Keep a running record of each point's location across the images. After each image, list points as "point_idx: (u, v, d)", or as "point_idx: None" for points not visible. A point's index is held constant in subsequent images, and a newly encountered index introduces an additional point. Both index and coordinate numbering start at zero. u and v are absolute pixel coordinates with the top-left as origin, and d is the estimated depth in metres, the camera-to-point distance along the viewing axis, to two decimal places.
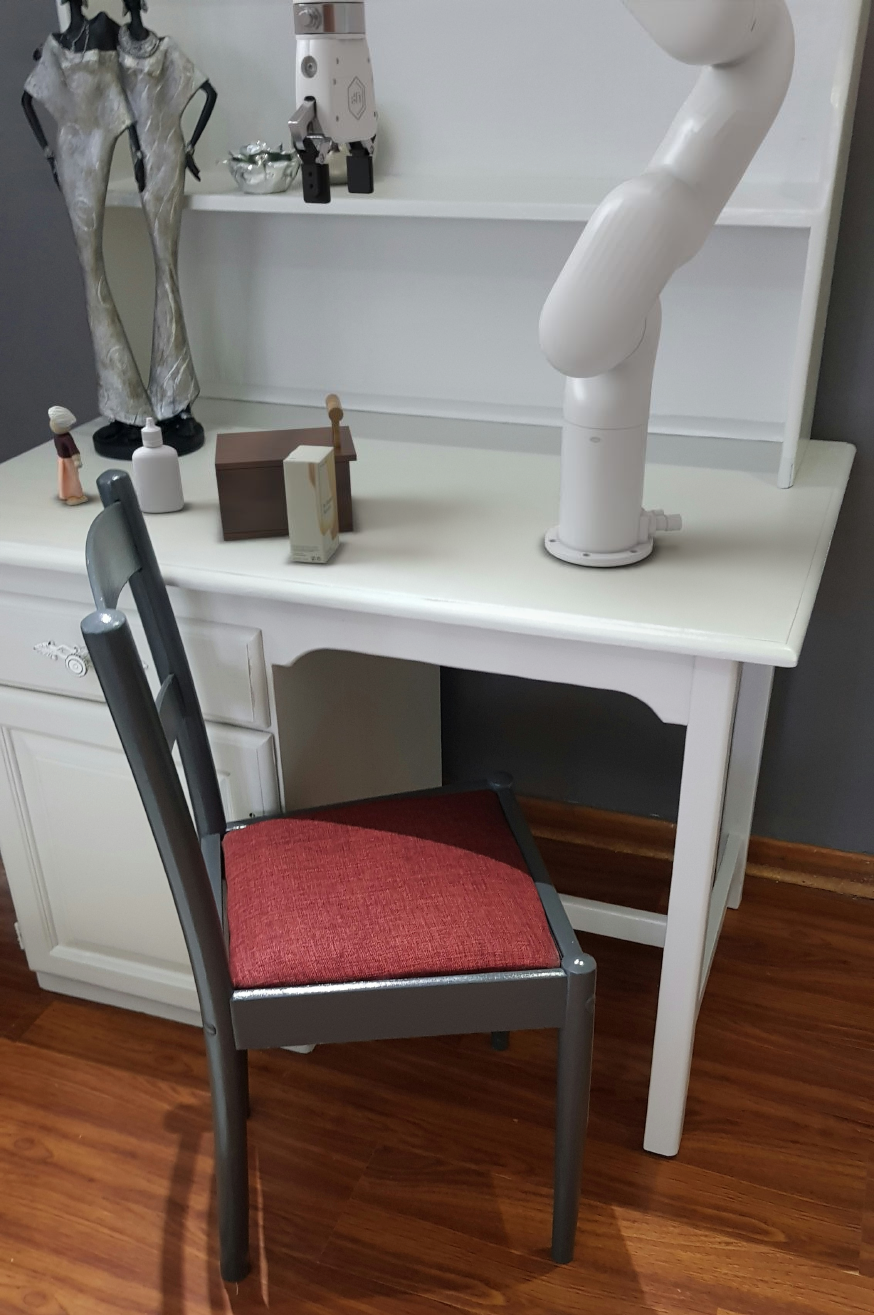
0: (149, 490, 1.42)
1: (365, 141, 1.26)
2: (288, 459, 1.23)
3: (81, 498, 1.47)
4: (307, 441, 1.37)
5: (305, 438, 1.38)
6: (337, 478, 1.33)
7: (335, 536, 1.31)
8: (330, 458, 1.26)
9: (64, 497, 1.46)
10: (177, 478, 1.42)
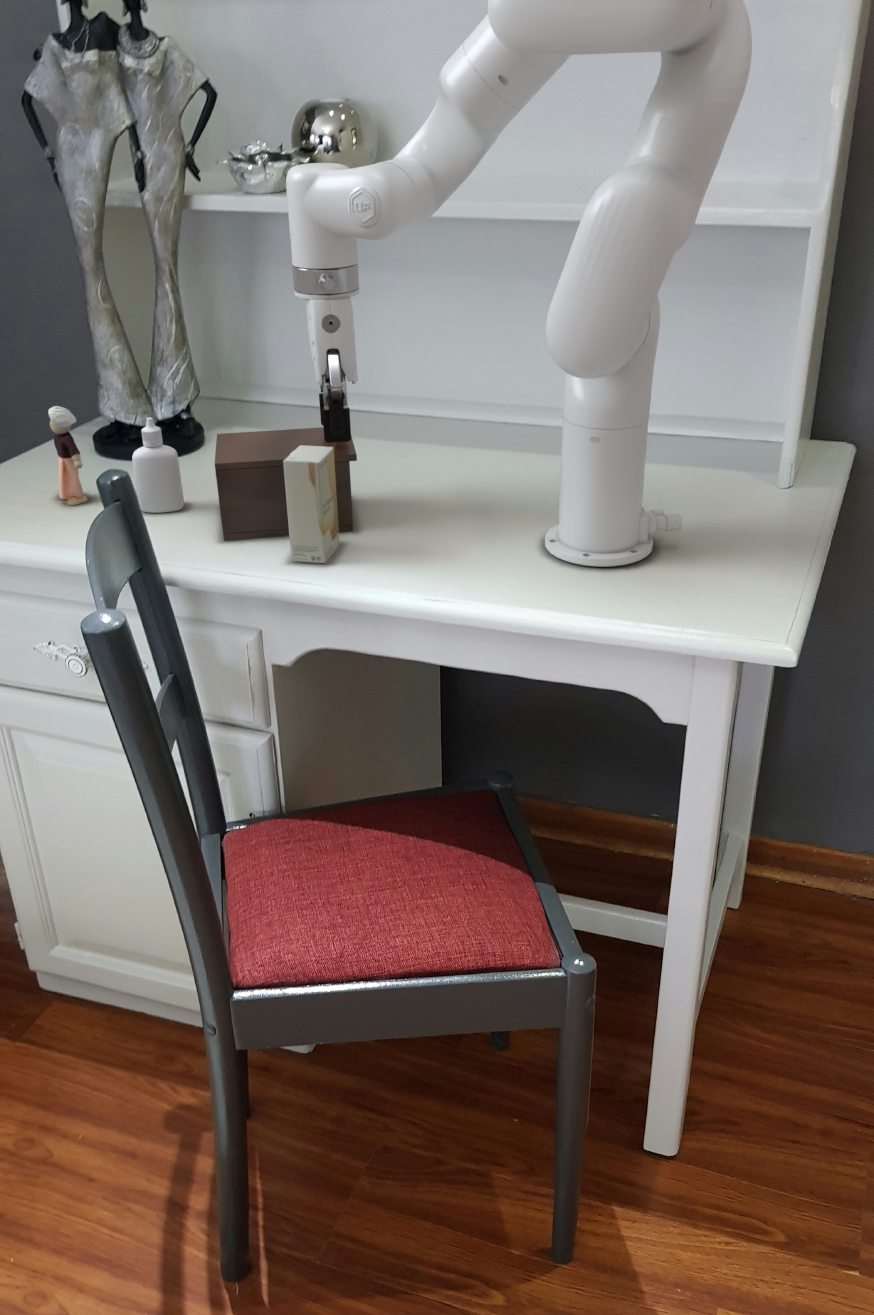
0: (149, 490, 1.42)
1: (342, 377, 1.37)
2: (288, 459, 1.23)
3: (81, 498, 1.47)
4: (307, 441, 1.37)
5: (305, 438, 1.38)
6: (337, 478, 1.33)
7: (335, 536, 1.31)
8: (330, 458, 1.26)
9: (64, 497, 1.46)
10: (177, 478, 1.42)
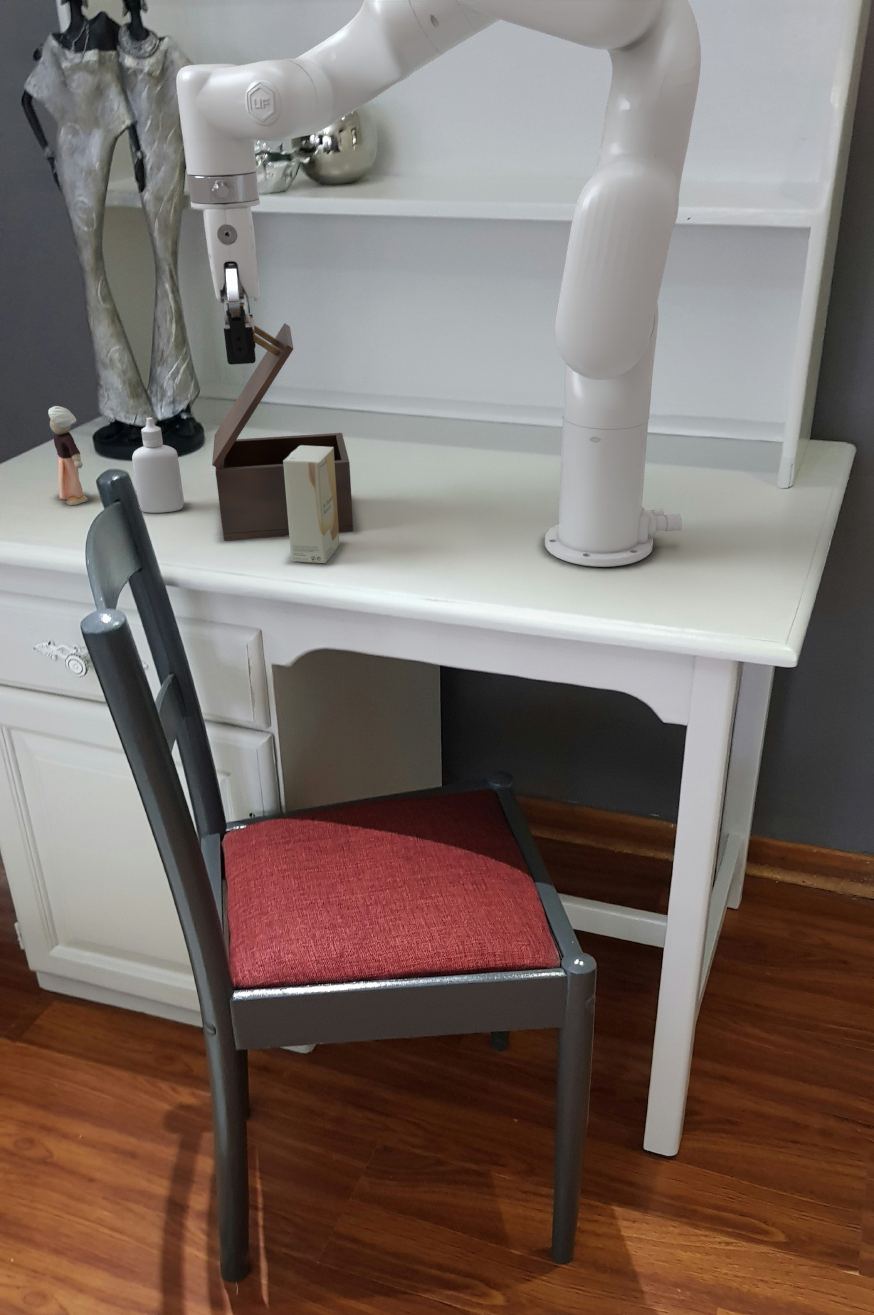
0: (149, 490, 1.42)
1: (248, 298, 1.31)
2: (288, 459, 1.23)
3: (81, 498, 1.47)
4: (260, 372, 1.32)
5: (260, 371, 1.33)
6: (337, 478, 1.33)
7: (335, 536, 1.31)
8: (330, 458, 1.26)
9: (64, 497, 1.46)
10: (177, 478, 1.42)
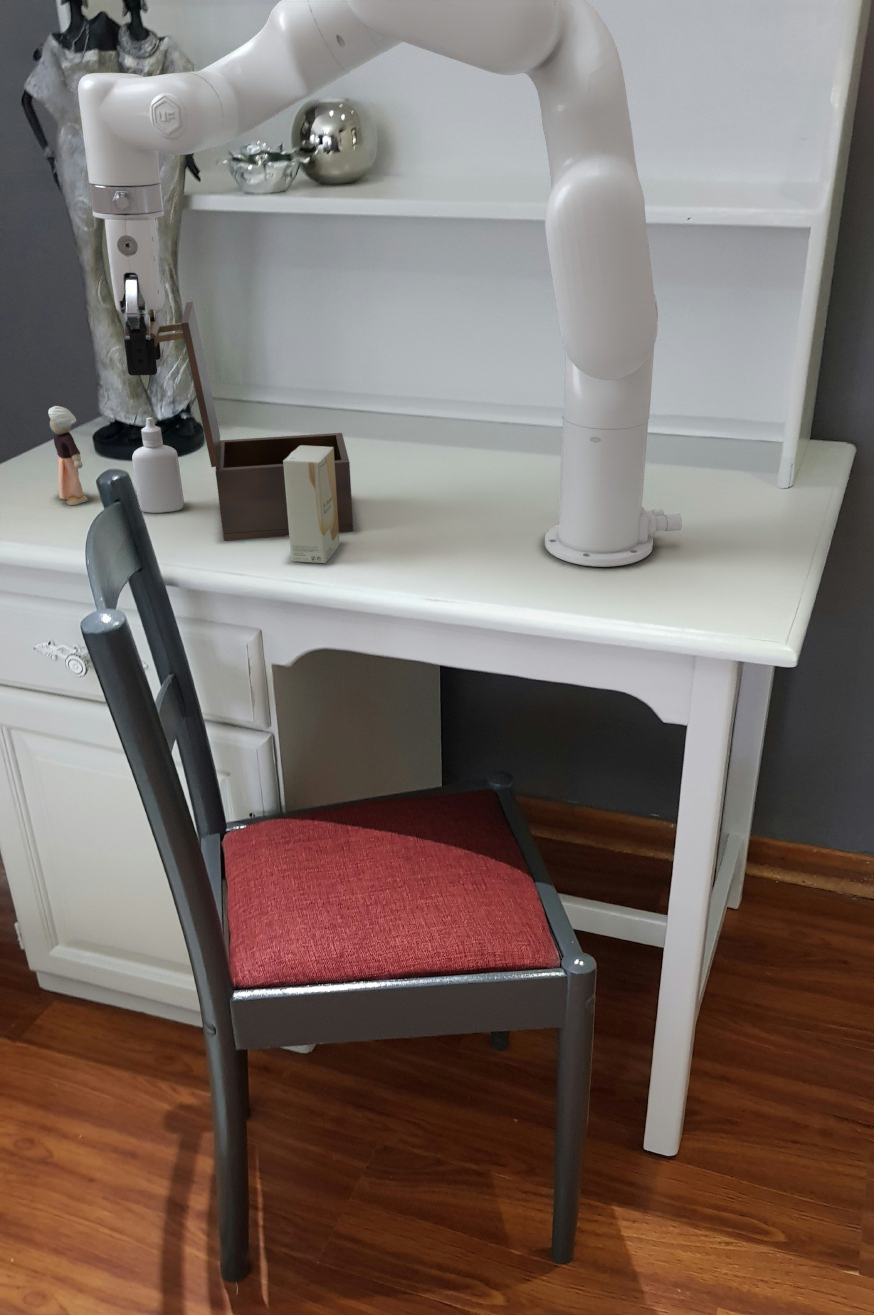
0: (149, 490, 1.42)
1: None
2: (288, 459, 1.23)
3: (81, 498, 1.47)
4: None
5: None
6: (337, 478, 1.33)
7: (335, 536, 1.31)
8: (330, 458, 1.26)
9: (64, 497, 1.46)
10: (177, 478, 1.42)
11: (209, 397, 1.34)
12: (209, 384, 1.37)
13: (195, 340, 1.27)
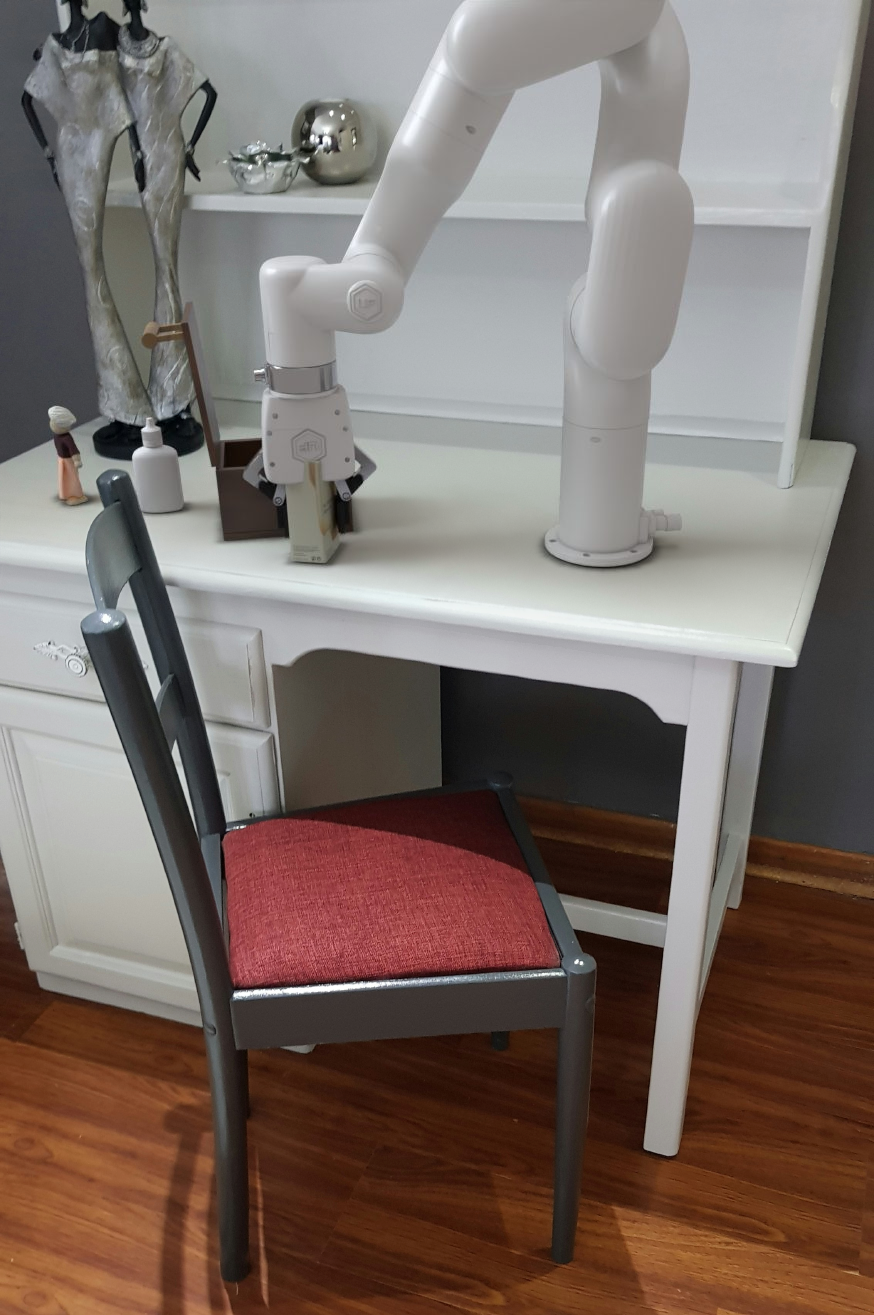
0: (149, 490, 1.42)
1: (336, 484, 1.26)
2: None
3: (81, 498, 1.47)
4: None
5: None
6: None
7: (335, 536, 1.31)
8: None
9: (64, 497, 1.46)
10: (177, 478, 1.42)
11: (209, 397, 1.34)
12: (209, 384, 1.37)
13: (195, 340, 1.27)
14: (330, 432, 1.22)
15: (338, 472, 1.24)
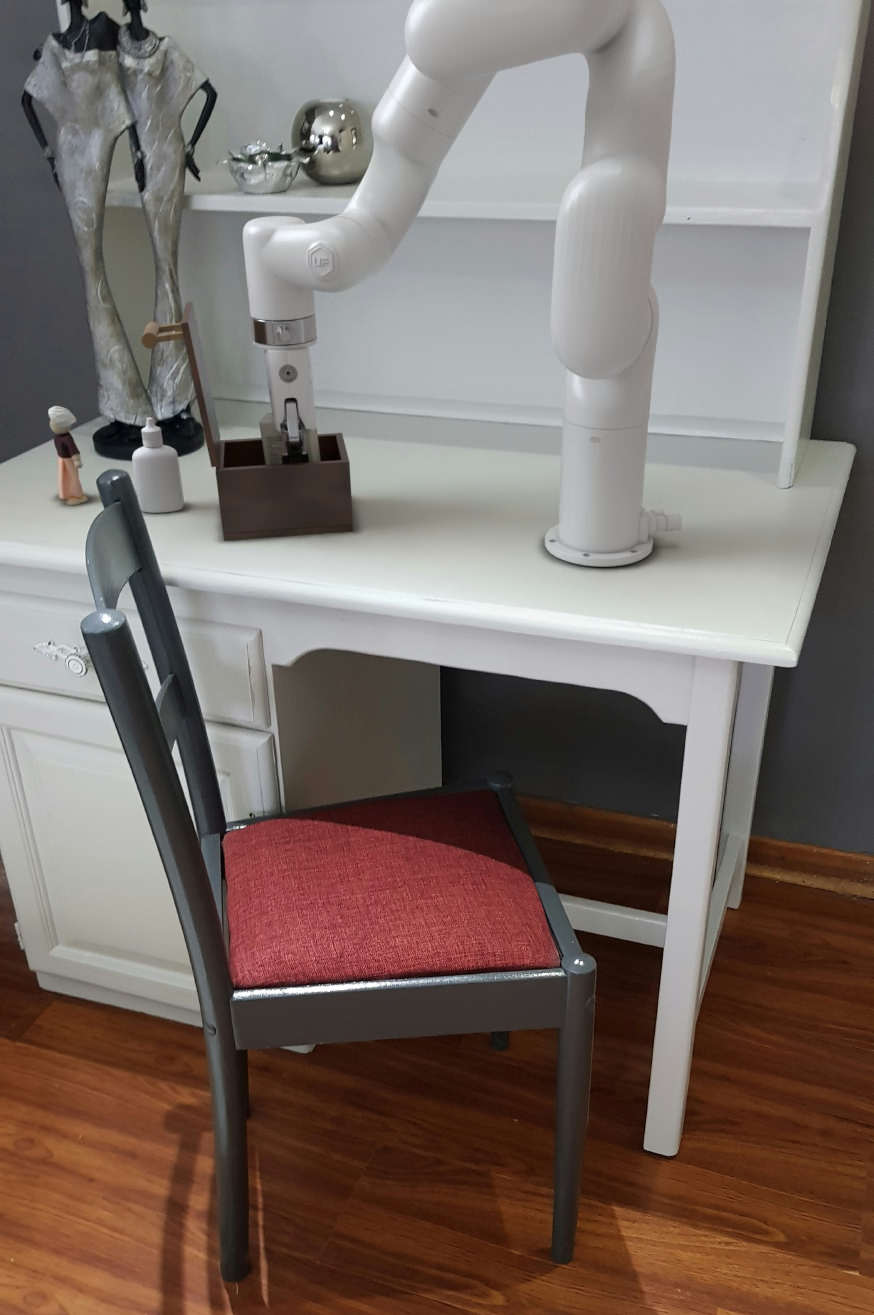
0: (149, 490, 1.42)
1: None
2: None
3: (81, 498, 1.47)
4: None
5: None
6: (337, 478, 1.33)
7: None
8: None
9: (64, 497, 1.46)
10: (177, 478, 1.42)
11: (209, 397, 1.34)
12: (209, 384, 1.37)
13: (195, 340, 1.27)
14: None
15: None
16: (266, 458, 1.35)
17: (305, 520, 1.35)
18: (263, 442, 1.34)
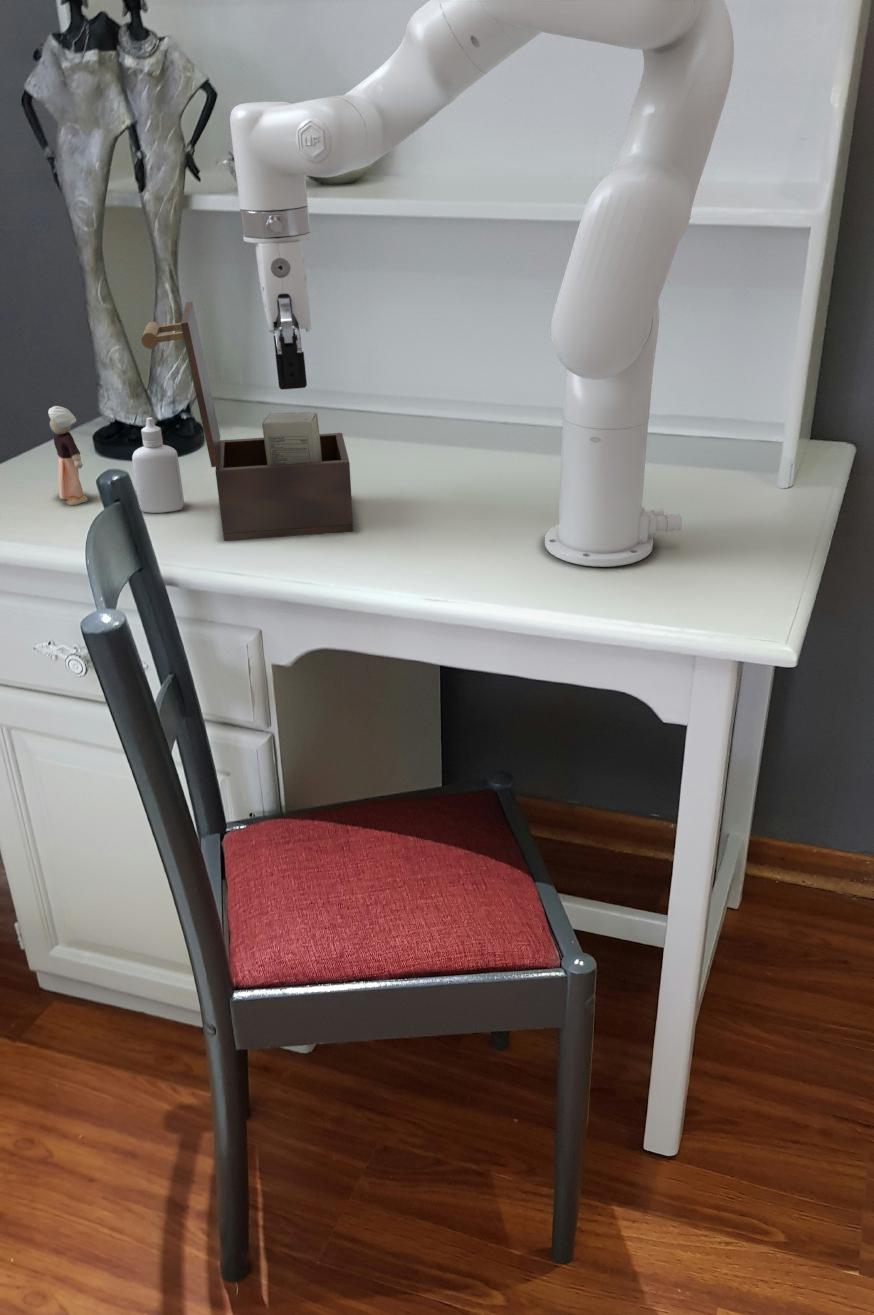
0: (149, 490, 1.42)
1: None
2: (308, 420, 1.33)
3: (81, 498, 1.47)
4: None
5: None
6: (337, 478, 1.33)
7: None
8: None
9: (64, 497, 1.46)
10: (177, 478, 1.42)
11: (209, 397, 1.34)
12: (209, 384, 1.37)
13: (195, 340, 1.27)
14: None
15: None
16: (268, 458, 1.35)
17: (305, 520, 1.35)
18: (265, 442, 1.34)
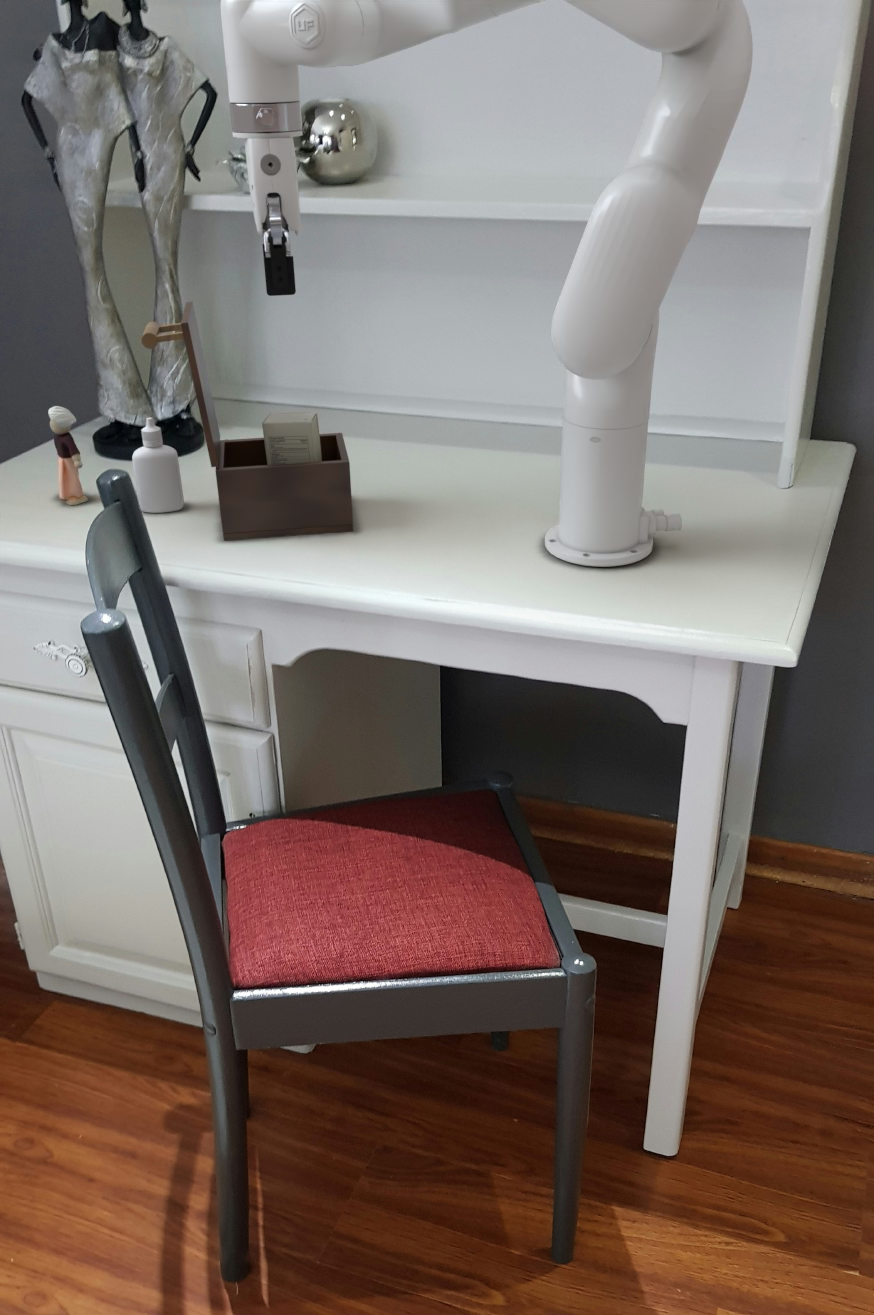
0: (149, 490, 1.42)
1: None
2: (308, 420, 1.33)
3: (81, 498, 1.47)
4: None
5: None
6: (337, 478, 1.33)
7: None
8: None
9: (64, 497, 1.46)
10: (177, 478, 1.42)
11: (209, 397, 1.34)
12: (209, 384, 1.37)
13: (195, 340, 1.27)
14: None
15: None
16: (268, 458, 1.35)
17: (305, 520, 1.35)
18: (265, 442, 1.34)
